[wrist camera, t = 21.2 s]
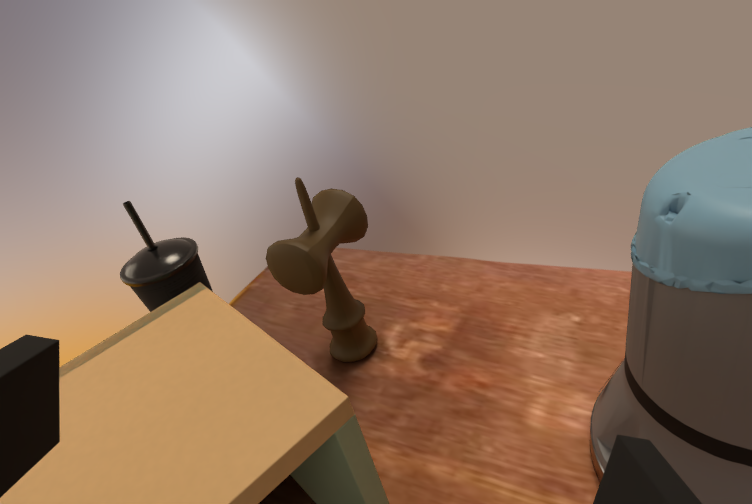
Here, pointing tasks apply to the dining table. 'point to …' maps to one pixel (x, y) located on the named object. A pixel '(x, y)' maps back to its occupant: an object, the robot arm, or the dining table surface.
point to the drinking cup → (162, 267)
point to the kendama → (326, 267)
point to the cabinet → (198, 419)
